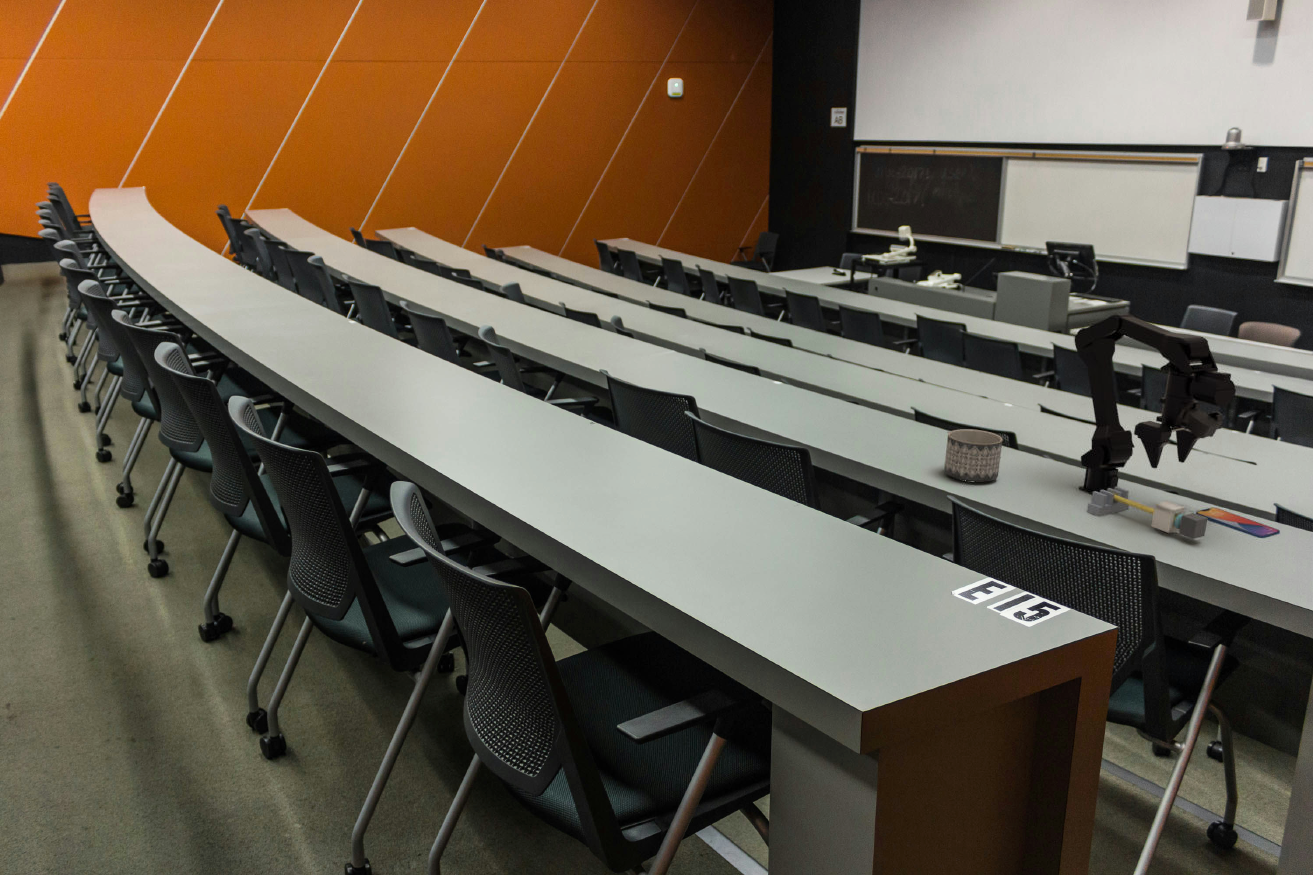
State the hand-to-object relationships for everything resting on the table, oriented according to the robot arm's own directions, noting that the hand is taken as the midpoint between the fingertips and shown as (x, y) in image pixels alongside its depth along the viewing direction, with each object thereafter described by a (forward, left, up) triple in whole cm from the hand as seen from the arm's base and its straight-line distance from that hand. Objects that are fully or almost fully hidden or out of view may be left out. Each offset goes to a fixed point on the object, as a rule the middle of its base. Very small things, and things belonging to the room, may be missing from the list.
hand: (1167, 465), depth 207 cm
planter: (-38, -18, -12) cm, 44 cm away
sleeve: (+7, -7, -12) cm, 15 cm away
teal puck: (+9, -7, -10) cm, 16 cm away
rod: (+1, -7, -9) cm, 12 cm away
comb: (-8, -7, -12) cm, 16 cm away
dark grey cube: (+12, -7, -11) cm, 17 cm away
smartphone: (+10, +12, -13) cm, 20 cm away
